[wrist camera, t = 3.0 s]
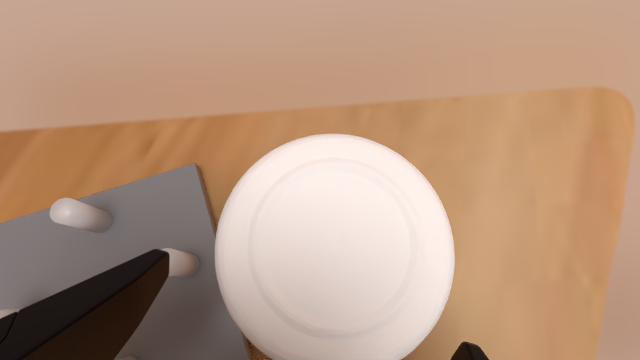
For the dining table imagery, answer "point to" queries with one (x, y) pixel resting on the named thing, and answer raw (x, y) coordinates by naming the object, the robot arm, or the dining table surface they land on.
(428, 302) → the sprinkles bottle
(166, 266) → the robot arm
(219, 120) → the dining table surface
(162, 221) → the pin tray
